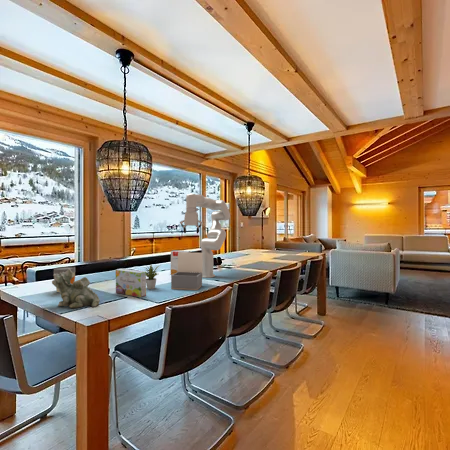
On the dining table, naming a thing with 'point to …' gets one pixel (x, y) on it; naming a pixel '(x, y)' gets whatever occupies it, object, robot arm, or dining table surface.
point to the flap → (190, 262)
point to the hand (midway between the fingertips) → (191, 233)
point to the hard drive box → (175, 261)
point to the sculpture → (74, 291)
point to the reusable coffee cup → (64, 269)
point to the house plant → (151, 277)
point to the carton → (186, 280)
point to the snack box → (131, 282)
